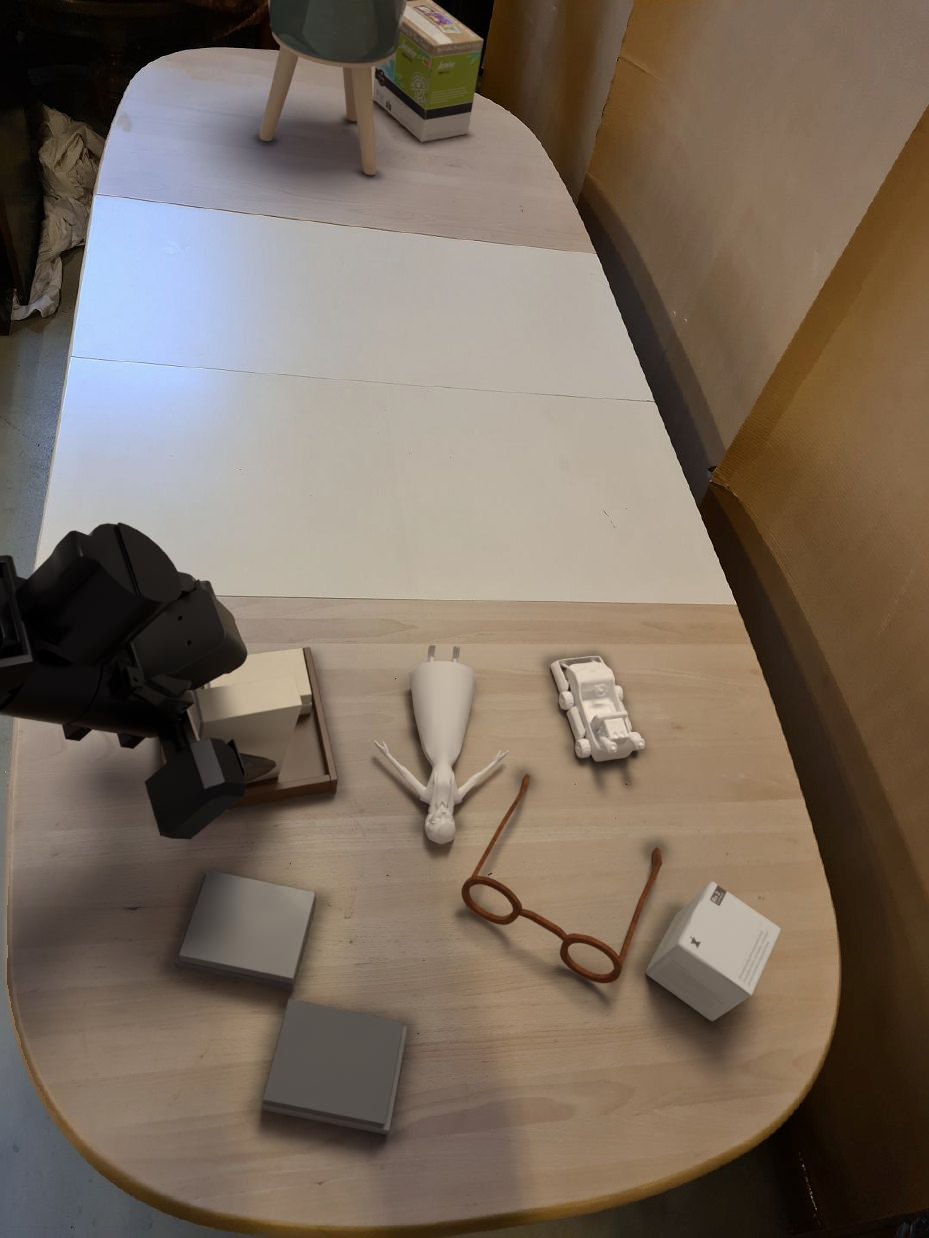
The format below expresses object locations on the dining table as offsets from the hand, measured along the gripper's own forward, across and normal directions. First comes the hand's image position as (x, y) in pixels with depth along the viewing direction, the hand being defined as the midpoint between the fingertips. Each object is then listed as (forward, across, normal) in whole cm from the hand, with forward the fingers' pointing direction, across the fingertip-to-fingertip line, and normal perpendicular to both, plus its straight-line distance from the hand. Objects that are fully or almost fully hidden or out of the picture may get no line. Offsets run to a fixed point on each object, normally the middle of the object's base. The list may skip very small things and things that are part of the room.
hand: (252, 716), depth 67 cm
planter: (+37, +98, -25) cm, 108 cm away
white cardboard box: (+24, -29, -13) cm, 39 cm away
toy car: (+27, -6, -16) cm, 32 cm away
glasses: (+20, -18, -8) cm, 28 cm away
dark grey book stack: (+4, -24, +7) cm, 25 cm away
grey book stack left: (+2, -13, +9) cm, 16 cm away
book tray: (+6, +3, +6) cm, 8 cm away
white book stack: (+7, +6, +4) cm, 10 cm away
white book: (+3, -1, +6) cm, 7 cm away
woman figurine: (+16, -4, -5) cm, 18 cm away
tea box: (+50, +105, -38) cm, 122 cm away
